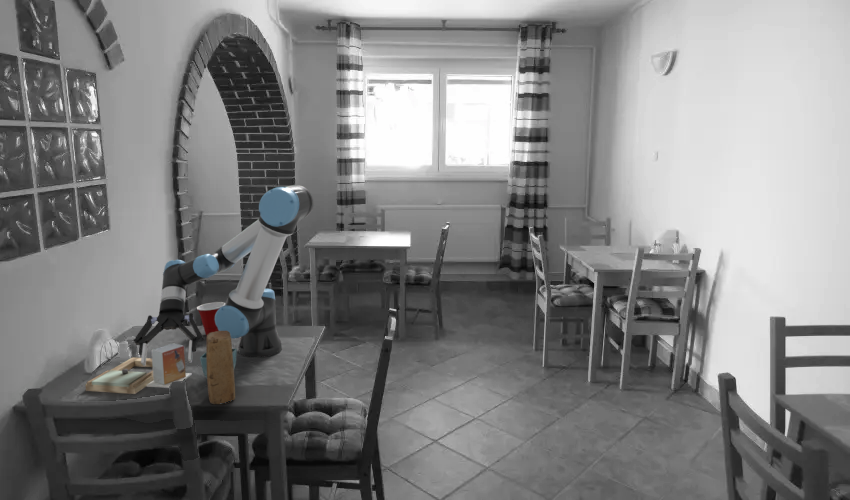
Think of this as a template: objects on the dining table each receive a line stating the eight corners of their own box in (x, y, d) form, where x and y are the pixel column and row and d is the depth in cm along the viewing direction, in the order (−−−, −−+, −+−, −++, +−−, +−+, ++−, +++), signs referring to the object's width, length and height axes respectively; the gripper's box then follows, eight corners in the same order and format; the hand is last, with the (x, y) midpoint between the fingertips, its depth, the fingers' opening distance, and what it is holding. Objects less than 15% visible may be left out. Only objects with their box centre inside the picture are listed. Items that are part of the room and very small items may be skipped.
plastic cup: (206, 329, 235) (205, 300, 233) (232, 330, 234) (230, 301, 232) (192, 337, 225) (190, 307, 223) (219, 339, 223) (217, 309, 221)
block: (236, 404, 168) (232, 337, 164) (208, 407, 165) (204, 340, 162) (234, 389, 178) (231, 326, 174) (208, 392, 175) (204, 329, 172)
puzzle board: (176, 365, 197) (175, 353, 196) (135, 393, 174) (133, 380, 173) (132, 363, 198) (131, 351, 198) (86, 390, 176) (84, 377, 175)
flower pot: (212, 374, 190) (210, 347, 188) (238, 374, 189) (237, 348, 188) (201, 384, 181) (199, 357, 179) (229, 385, 181) (227, 358, 179)
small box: (164, 385, 179) (161, 352, 178) (153, 381, 182) (150, 349, 180) (186, 376, 186) (184, 345, 184) (175, 373, 189) (173, 342, 187)
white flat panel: (191, 374, 189) (191, 373, 189) (173, 388, 178) (173, 387, 178) (166, 372, 190) (165, 371, 190) (146, 386, 179) (145, 385, 179)
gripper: (213, 306, 198) (210, 364, 187) (134, 310, 193) (126, 370, 181) (210, 295, 192) (207, 354, 181) (129, 299, 187) (120, 360, 175)
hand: (166, 362), depth 181 cm, fingers open, 13 cm apart
